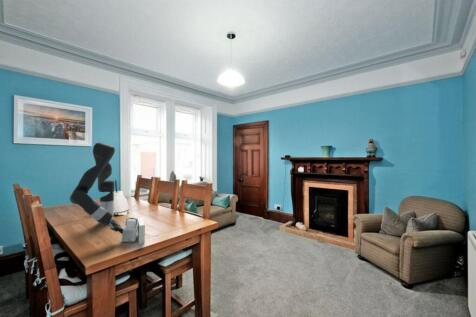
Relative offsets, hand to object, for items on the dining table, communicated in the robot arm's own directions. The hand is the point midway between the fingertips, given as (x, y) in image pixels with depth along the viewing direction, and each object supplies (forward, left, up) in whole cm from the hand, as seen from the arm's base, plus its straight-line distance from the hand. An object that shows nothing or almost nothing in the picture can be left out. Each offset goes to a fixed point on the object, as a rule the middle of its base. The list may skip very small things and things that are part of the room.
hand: (124, 233), depth 132 cm
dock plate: (+8, +3, -5) cm, 10 cm away
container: (+2, +1, -5) cm, 5 cm away
